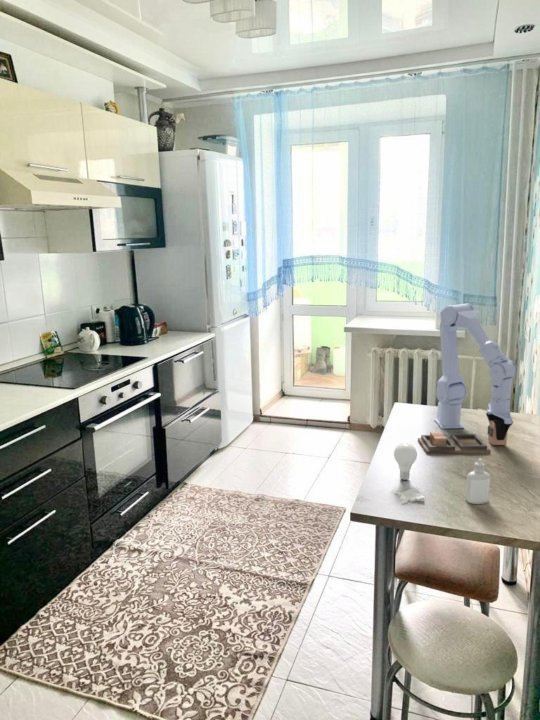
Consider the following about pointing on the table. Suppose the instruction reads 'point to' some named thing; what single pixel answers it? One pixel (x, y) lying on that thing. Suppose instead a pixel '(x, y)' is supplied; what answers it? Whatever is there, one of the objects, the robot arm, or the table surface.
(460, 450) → the brown flat tray
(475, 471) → the eye dropper bottle
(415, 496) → the acanthus leaf ornament
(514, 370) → the robot arm
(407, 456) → the lightbulb
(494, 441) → the pinkish brown block
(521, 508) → the table surface
